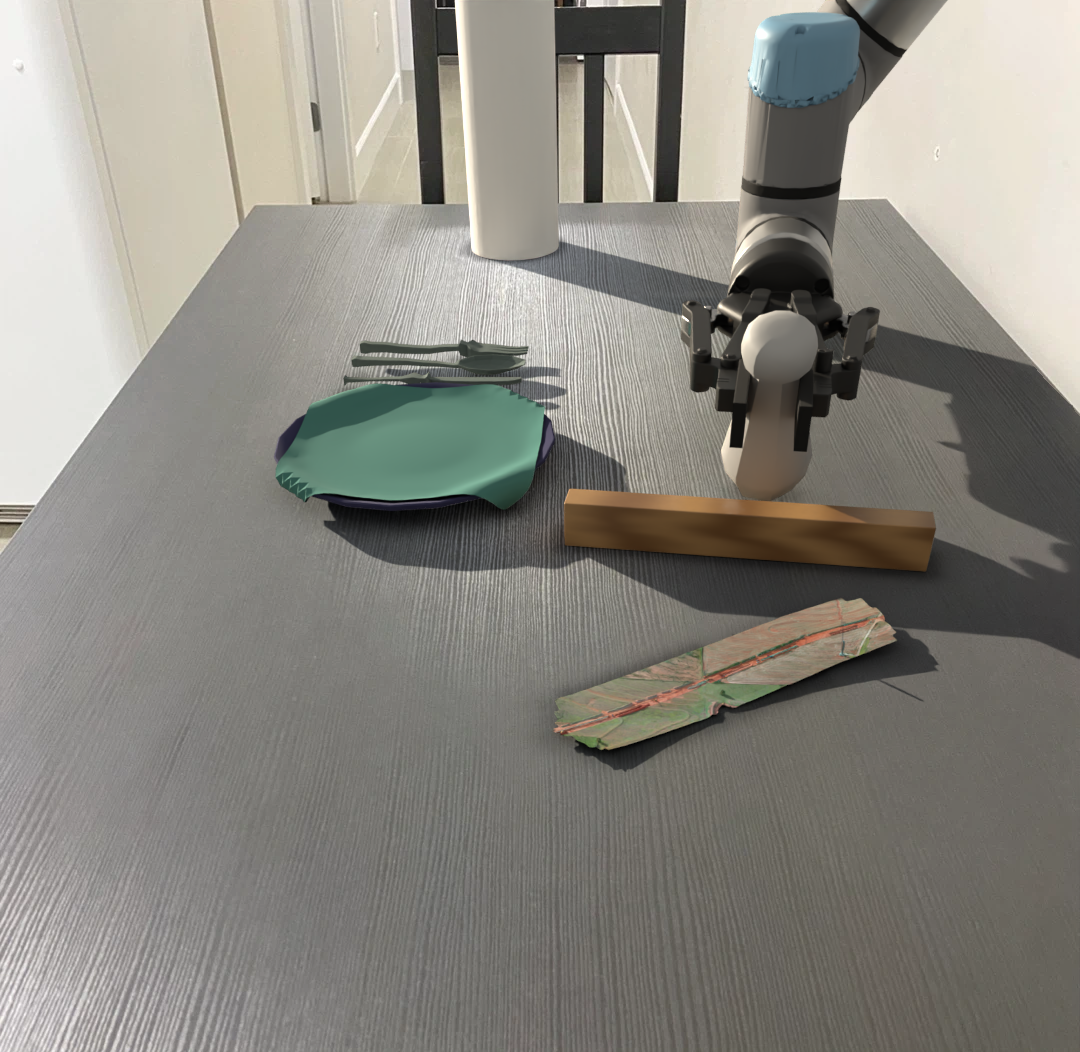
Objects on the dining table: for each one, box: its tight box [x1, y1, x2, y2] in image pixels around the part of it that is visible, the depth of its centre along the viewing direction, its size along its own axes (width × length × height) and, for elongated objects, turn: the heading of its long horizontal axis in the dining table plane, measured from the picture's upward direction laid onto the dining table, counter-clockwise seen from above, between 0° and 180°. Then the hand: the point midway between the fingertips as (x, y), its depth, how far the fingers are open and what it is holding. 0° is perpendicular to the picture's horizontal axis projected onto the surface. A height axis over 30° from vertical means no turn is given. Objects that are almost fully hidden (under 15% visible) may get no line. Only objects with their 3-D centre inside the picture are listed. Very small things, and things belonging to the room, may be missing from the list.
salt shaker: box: [720, 311, 818, 502], centre depth 67 cm, size 6×6×13 cm
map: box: [552, 597, 898, 751], centre depth 58 cm, size 5×20×1 cm, turn 117°
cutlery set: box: [273, 339, 556, 512], centre depth 81 cm, size 20×30×2 cm, turn 176°
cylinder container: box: [454, 0, 560, 261], centre depth 108 cm, size 9×9×30 cm
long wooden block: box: [563, 488, 937, 572], centre depth 67 cm, size 22×2×3 cm, turn 79°
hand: (770, 427), depth 62 cm, fingers closed on salt shaker, 3 cm apart
